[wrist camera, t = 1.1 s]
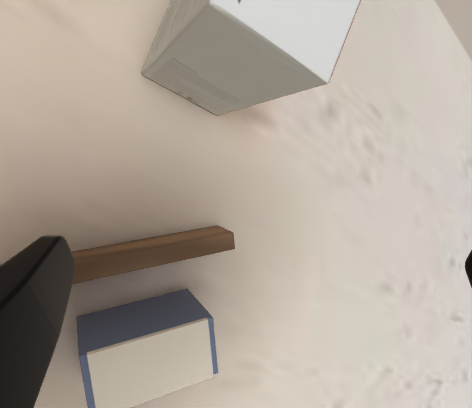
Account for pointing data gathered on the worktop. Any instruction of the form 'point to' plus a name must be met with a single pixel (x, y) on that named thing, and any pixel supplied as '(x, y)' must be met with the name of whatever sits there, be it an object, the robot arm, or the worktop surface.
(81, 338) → the boxed book
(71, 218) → the worktop surface
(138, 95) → the worktop surface
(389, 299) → the worktop surface
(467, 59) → the worktop surface
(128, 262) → the book rack
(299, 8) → the small box
